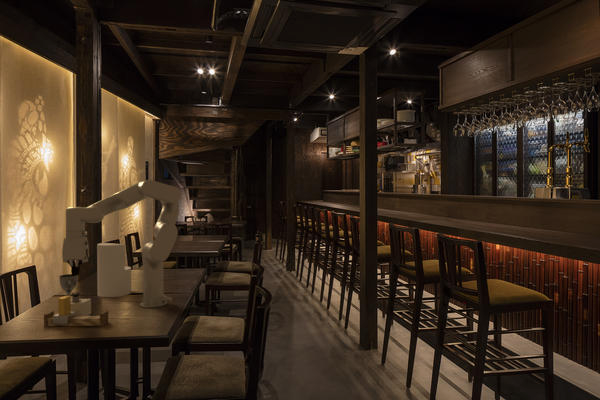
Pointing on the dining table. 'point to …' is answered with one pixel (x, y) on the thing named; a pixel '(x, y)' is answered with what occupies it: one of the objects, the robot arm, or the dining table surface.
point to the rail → (79, 320)
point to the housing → (81, 307)
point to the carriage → (63, 311)
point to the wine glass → (68, 282)
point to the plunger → (75, 297)
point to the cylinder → (112, 270)
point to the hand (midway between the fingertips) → (75, 275)
